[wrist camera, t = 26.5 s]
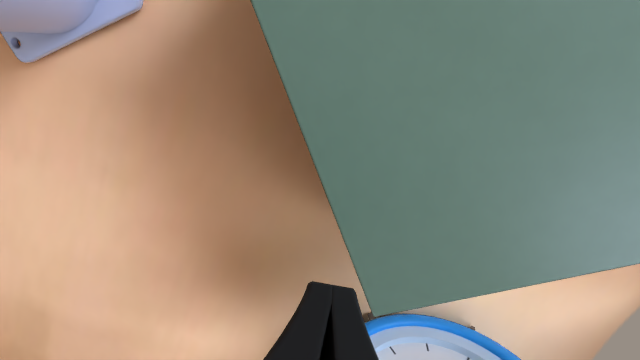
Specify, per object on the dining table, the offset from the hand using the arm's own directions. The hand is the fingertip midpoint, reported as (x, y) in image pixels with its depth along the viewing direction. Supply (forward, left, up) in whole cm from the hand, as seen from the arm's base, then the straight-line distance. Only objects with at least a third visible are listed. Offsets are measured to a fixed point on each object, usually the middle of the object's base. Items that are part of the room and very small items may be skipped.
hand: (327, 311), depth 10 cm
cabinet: (-4, +7, -10) cm, 13 cm away
